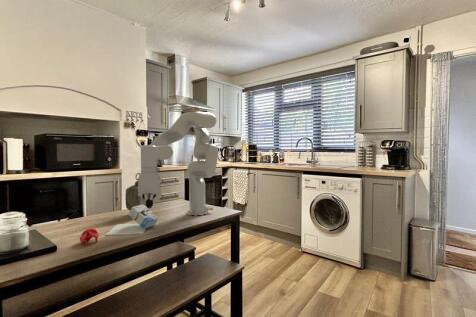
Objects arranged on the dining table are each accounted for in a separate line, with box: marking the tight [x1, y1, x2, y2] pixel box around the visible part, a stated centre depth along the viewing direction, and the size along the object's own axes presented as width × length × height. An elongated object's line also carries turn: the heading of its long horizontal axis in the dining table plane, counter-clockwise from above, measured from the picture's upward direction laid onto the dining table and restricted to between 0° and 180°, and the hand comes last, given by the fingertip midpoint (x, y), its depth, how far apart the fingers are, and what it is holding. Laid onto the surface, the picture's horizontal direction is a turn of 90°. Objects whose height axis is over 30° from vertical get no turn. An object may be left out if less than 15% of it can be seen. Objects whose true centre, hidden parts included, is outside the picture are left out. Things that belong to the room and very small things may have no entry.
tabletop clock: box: [125, 172, 151, 211], centre depth 150 cm, size 14×9×25 cm, turn 170°
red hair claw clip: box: [79, 228, 99, 246], centre depth 107 cm, size 8×6×6 cm
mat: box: [105, 223, 147, 237], centre depth 124 cm, size 16×16×1 cm
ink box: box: [127, 204, 160, 230], centre depth 128 cm, size 8×5×12 cm
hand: (149, 207), depth 125 cm, fingers closed
